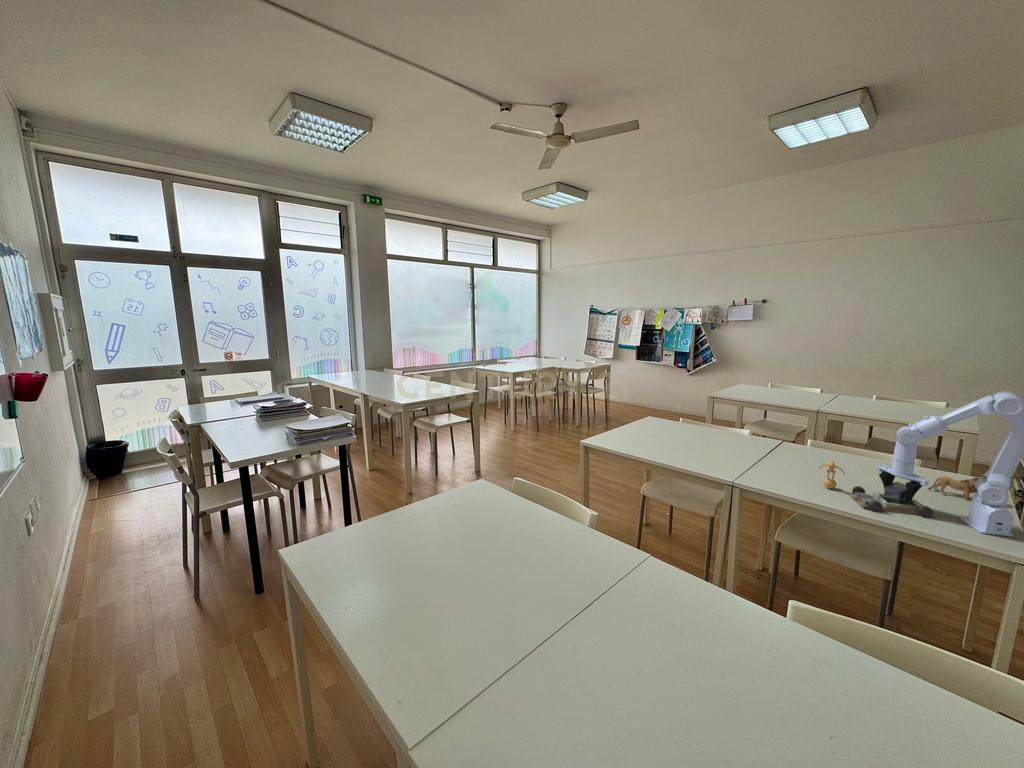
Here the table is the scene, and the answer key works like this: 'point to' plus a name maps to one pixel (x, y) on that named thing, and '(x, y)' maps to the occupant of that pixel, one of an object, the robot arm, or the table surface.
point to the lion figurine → (957, 485)
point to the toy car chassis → (888, 504)
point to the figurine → (830, 482)
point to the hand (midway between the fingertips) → (897, 496)
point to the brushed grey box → (895, 493)
